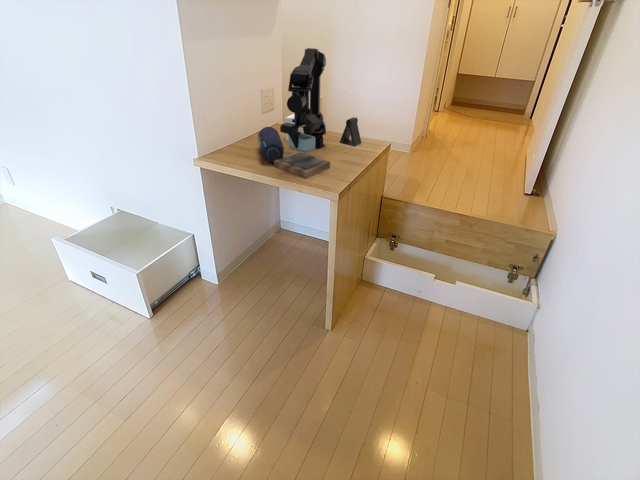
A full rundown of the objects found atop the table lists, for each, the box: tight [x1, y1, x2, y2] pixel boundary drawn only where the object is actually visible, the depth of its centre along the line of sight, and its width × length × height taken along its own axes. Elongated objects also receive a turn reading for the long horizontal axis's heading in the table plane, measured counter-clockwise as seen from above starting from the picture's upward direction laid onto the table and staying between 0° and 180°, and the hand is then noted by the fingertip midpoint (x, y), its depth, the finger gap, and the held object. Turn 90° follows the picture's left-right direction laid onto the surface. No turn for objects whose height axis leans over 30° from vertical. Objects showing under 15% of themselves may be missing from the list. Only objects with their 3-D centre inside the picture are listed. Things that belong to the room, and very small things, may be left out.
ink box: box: [285, 113, 303, 142], centre depth 176 cm, size 8×5×12 cm, turn 153°
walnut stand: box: [273, 150, 331, 179], centre depth 149 cm, size 18×15×3 cm
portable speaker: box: [257, 126, 285, 163], centre depth 157 cm, size 25×10×10 cm, turn 12°
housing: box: [288, 132, 316, 154], centre depth 144 cm, size 6×10×5 cm, turn 50°
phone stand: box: [339, 116, 362, 147], centre depth 173 cm, size 9×6×12 cm, turn 55°
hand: (301, 145), depth 144 cm, fingers closed on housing, 6 cm apart
